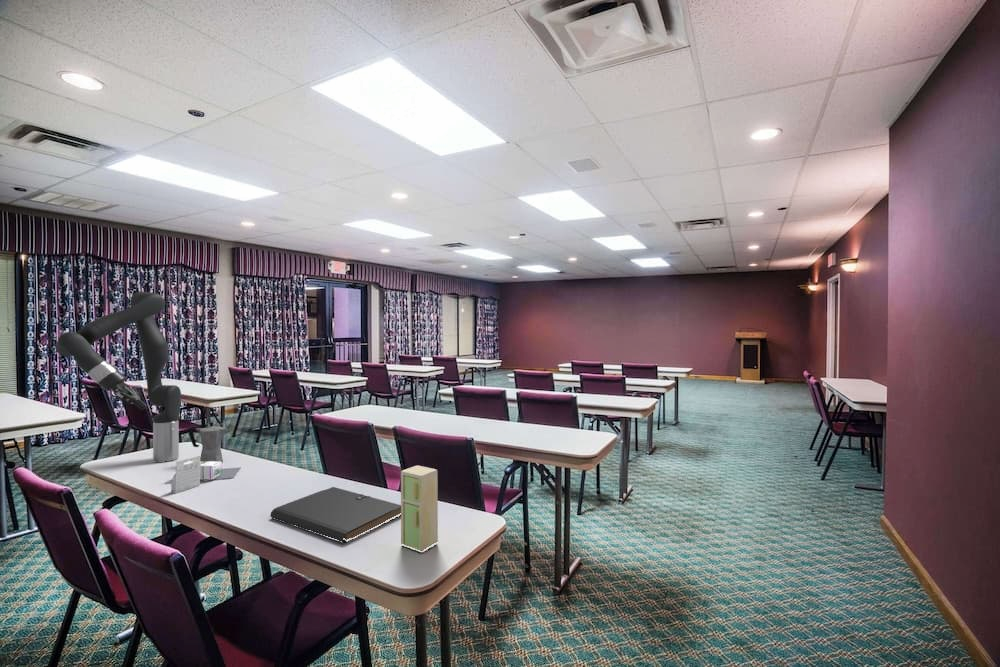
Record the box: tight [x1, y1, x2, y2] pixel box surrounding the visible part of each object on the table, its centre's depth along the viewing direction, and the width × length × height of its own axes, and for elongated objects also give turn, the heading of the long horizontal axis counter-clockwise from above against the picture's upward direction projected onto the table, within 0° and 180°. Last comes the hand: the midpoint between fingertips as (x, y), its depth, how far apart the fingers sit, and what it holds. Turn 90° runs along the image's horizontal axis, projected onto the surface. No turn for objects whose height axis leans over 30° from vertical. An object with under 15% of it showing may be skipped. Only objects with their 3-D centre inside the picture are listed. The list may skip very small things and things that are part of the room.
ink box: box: [170, 455, 201, 494], centre depth 170 cm, size 3×9×12 cm, turn 160°
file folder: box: [269, 486, 401, 543], centre depth 147 cm, size 33×4×24 cm
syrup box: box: [175, 460, 223, 481], centre depth 182 cm, size 6×6×14 cm
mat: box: [200, 466, 241, 482], centre depth 186 cm, size 18×14×1 cm
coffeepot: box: [188, 421, 229, 463], centre depth 202 cm, size 15×9×18 cm, turn 103°
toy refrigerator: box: [400, 465, 439, 551], centre depth 128 cm, size 8×7×21 cm
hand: (144, 408), depth 180 cm, fingers closed
